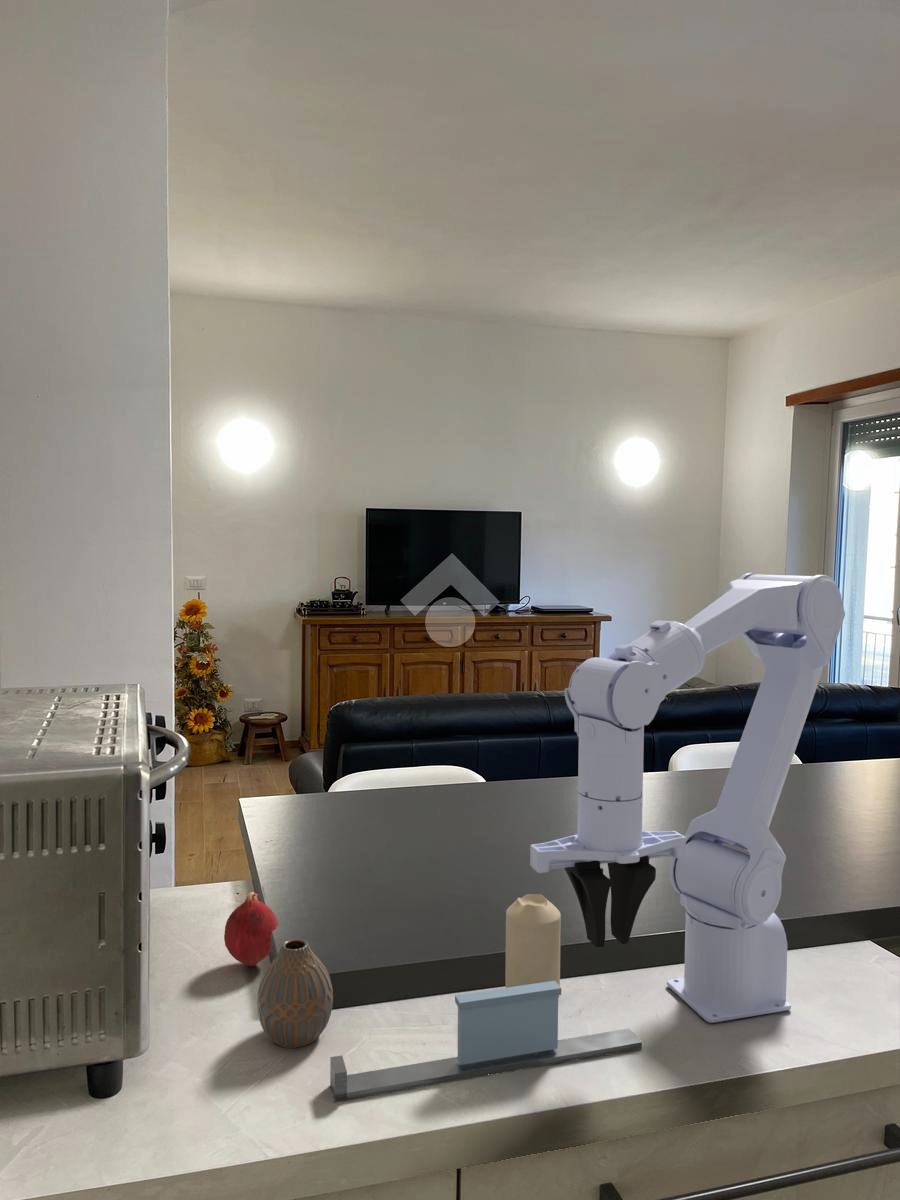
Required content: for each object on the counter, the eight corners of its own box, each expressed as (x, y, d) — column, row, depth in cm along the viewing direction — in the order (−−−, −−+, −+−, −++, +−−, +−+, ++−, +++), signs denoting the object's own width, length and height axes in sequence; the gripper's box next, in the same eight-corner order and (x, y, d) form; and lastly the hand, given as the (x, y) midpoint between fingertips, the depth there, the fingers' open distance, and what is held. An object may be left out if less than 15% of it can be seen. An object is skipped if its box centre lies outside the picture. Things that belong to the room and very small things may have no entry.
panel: (554, 1040, 79) (555, 980, 79) (560, 1049, 78) (561, 988, 77) (454, 1057, 76) (455, 995, 76) (459, 1066, 75) (459, 1003, 75)
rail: (629, 1034, 82) (629, 1009, 81) (641, 1048, 79) (642, 1023, 79) (330, 1084, 74) (330, 1057, 74) (334, 1101, 71) (334, 1073, 71)
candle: (557, 1011, 86) (558, 912, 85) (501, 1005, 87) (502, 907, 86) (561, 984, 91) (562, 890, 90) (509, 979, 92) (510, 886, 92)
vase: (328, 1012, 85) (328, 924, 85) (336, 1052, 79) (336, 957, 78) (256, 1021, 84) (256, 931, 83) (258, 1062, 77) (257, 965, 76)
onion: (279, 976, 92) (279, 902, 92) (223, 981, 91) (222, 906, 91) (278, 951, 98) (278, 881, 98) (225, 956, 97) (224, 885, 96)
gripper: (552, 811, 72) (550, 971, 73) (706, 798, 76) (702, 950, 77) (522, 789, 79) (520, 935, 80) (664, 778, 83) (661, 917, 84)
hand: (607, 940), depth 79 cm, fingers closed
